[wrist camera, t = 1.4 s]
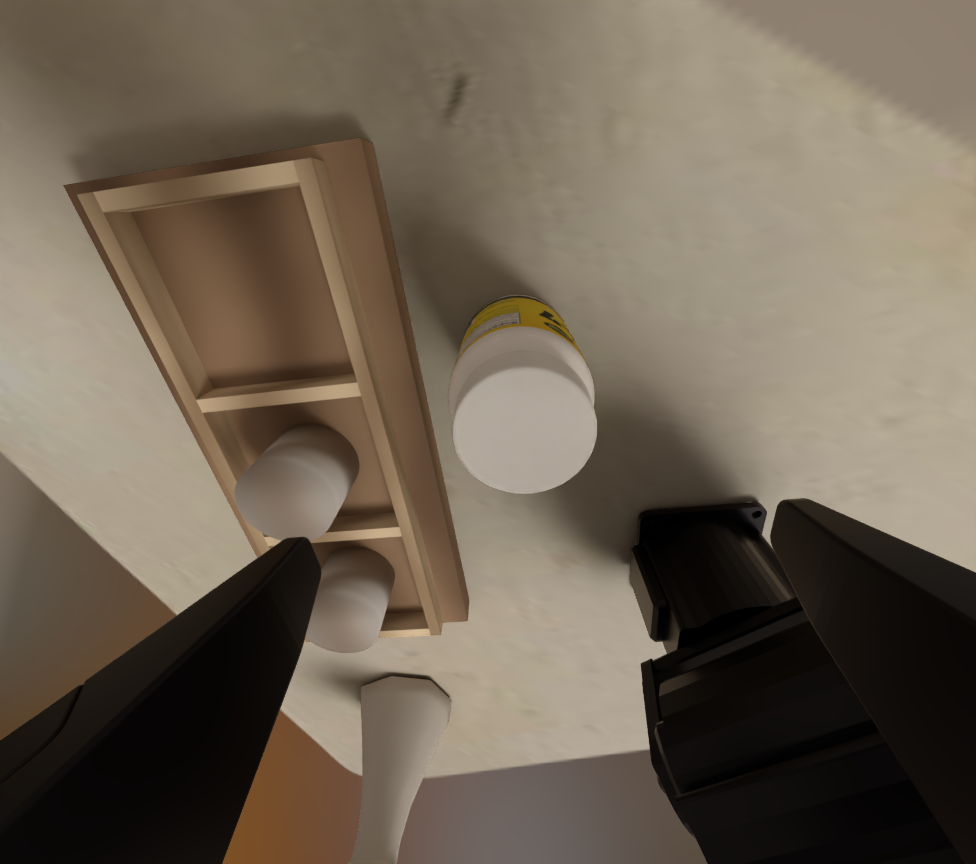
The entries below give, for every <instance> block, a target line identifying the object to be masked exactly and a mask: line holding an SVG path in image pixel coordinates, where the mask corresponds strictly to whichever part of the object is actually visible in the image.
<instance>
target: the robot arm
mask: <svg viewBox="0 0 976 864" xmlns="http://www.w3.org/2000/svg"><path fill="white" fill-rule="evenodd" d="M755 511H756V512H755ZM753 512H755V513H753ZM766 515H767V511H766V509H765V508H764V507H763V506H762V505H761V504H760V503H757V502H752V503H738V504H725V505H712V506H699V507H685V508H672V509H659V510H647V511H644V512H642V513H641V514H640V515H639V517H638V529H637V545H634V546H633V547H632V548H631V562H630V581H631V584H632V587H633V590H634V593H635V596H636V599H637V601H638V604H639V607H640V610H641V613H642V616H643V619H644V622H645V625H646V628H647V631H648V634H649V637H650V638H651V639H652V640H654V641H655V642H661V641H663V644H664V647H665V650H666V652H667V654H666V655H664V656H662V657H659V658H657V659H655V660H652V659H650V660H647V661H645V662H643V663H641V671H642V680H643V681H642V685H643V694H644V702H645V711H646V719H647V728H648V737H649V745H650V754H651V761H652V765H653V767H654V769H655V771H656V773H657V780H658V783H659V785H660V788H661V789H662V790H663V792H664V793H666V795H667V797H668V799H669V801H670V802H671V804H672V806H673V808H674V810H675V812H676V814H677V815H678V817H679V818H680V820H681V822H682V823H683V825H684V826H685V827H686V829H687V830H688V831H689V832H690V834H691V835H692V836H693V837H695V838H696V839H697V842H698V844H699V846H700V848H701V850H702V852H703V854H704V856H705V859H706V861H707V863H708V864H976V572H973V571H971V570H969V569H966V568H964V567H962V566H960V565H957V564H955V563H953V562H950V561H948V560H946V559H944V558H941V557H939V556H937V555H935V554H932V553H930V552H928V551H925V550H923V549H921V548H919V547H916V546H914V545H912V544H910V543H907V542H905V541H903V540H900V539H898V538H896V537H894V536H891V535H889V534H887V533H885V532H882V531H880V530H878V529H875V528H873V527H871V526H869V525H866V524H864V523H862V522H860V521H857V520H855V519H853V518H850V517H848V516H846V515H844V514H841V513H839V512H837V511H835V510H832V509H830V508H828V507H825V506H823V505H821V504H819V503H816V502H814V501H812V500H809V499H805V498H800V499H787V500H783V501H781V502H780V503H779V504H778V506H777V509H776V513H775V517H774V521H773V525H772V529H771V534H770V539H771V544H772V547H773V548H772V547H771V546H770V544H769V543H768V542H767V541H766V539H765V538H764V537H763V536H762V531H763V527H764V523H765V519H766ZM647 519H651V520H650V521H646V520H647ZM773 549H774V550H773ZM321 574H322V572H321V565H320V563H319V560H318V558H317V556H316V553H315V551H314V549H313V546H312V544H311V542H310V540H309V539H308V538H307V537H291V538H286V539H284V540H282V541H281V542H279V543H278V544H277V545H275V546H274V547H272V548H271V549H270V550H268V551H267V552H265V553H264V554H263V555H261V556H260V557H258V558H257V559H256V560H254V561H253V562H251V563H250V564H249V565H247V566H246V567H244V568H243V569H242V570H240V571H239V572H237V573H236V574H234V575H233V576H232V577H230V578H229V579H227V580H226V581H225V582H223V583H222V584H220V585H219V586H218V587H216V588H215V589H213V590H212V591H211V592H209V593H208V594H206V595H205V596H204V597H202V598H201V599H199V600H198V601H197V602H195V603H194V604H192V605H191V606H190V607H188V608H187V609H185V610H184V611H183V612H181V613H180V614H178V615H177V616H176V617H174V618H173V619H171V620H170V621H169V622H167V623H166V624H164V625H163V626H162V627H160V628H159V629H157V630H156V631H155V632H153V633H152V634H151V635H149V636H147V637H146V638H145V639H143V640H142V641H140V642H139V643H138V644H136V645H135V646H133V647H132V648H131V649H129V650H128V651H126V652H125V653H124V654H122V655H121V656H120V657H118V658H117V659H115V660H114V661H112V662H111V663H110V664H108V665H107V666H105V667H104V668H103V669H101V670H100V671H98V672H97V673H96V674H94V675H93V676H91V677H90V678H89V679H87V680H86V681H85V683H84V685H79V686H77V687H76V688H74V689H73V690H72V691H70V692H69V693H67V694H66V695H65V696H63V697H62V698H60V699H59V700H58V701H56V702H55V703H53V704H52V705H51V706H49V707H48V708H46V709H45V710H43V711H42V712H41V713H39V714H38V715H36V716H35V717H33V718H32V719H30V720H29V721H28V722H26V723H25V724H23V725H22V726H21V727H19V728H18V729H16V730H15V731H13V732H12V733H10V734H9V735H8V736H6V737H5V738H3V739H2V740H0V864H222V863H223V860H224V857H225V855H226V852H227V849H228V847H229V844H230V841H231V839H232V836H233V833H234V831H235V828H236V825H237V823H238V820H239V817H240V815H241V812H242V809H243V807H244V804H245V801H246V799H247V796H248V793H249V791H250V788H251V785H252V782H253V780H254V777H255V774H256V772H257V769H258V767H259V764H260V761H261V759H262V756H263V753H264V751H265V748H266V745H267V742H268V740H269V737H270V734H271V732H272V729H273V726H274V724H275V721H276V718H277V716H278V713H279V710H280V708H281V705H282V702H283V700H284V697H285V694H286V692H287V689H288V686H289V684H290V681H291V678H292V676H293V673H294V670H295V668H296V665H297V662H298V659H299V656H300V653H301V650H302V647H303V644H304V640H305V637H306V633H307V629H308V625H309V622H310V618H311V614H312V610H313V606H314V603H315V599H316V595H317V591H318V588H319V584H320V580H321Z"/></svg>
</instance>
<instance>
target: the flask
mask: <svg viewBox="0 0 976 864" xmlns="http://www.w3.org/2000/svg"><path fill="white" fill-rule="evenodd" d="M450 707H451V699H450V698H449V697H447V696H446V695H445V694H444V693H443V692H442V691H441V690H440V689H439V688H438V687H437V686H436V685H435V684H434V683H433V682H432V681H431V680H425V679H415V678H405V677H395V676H390V677H387V678H384V679H381V680H378V681H376V682H373V683H370V684H367V685H364V686H361V719H362V765H363V793H362V803H361V812H360V822H359V831H358V835H357V839H356V844H355V849H354V853H353V856H352V859H351V862H349V863H347V864H396V863H397V857H398V851H399V846H400V841H401V837H402V834H403V831H404V827H405V824H406V820H407V817H408V814H409V811H410V807H411V805H412V802H413V800H414V798H415V795H416V793H417V791H418V788H419V786H420V784H421V782H422V779H423V777H424V775H425V772H426V770H427V768H428V765H429V763H430V761H431V759H432V757H433V754H434V752H435V750H436V748H437V746H438V744H439V742H440V740H441V737H442V735H443V733H444V731H445V729H446V726H447V724H448V722H449V716H450Z"/></svg>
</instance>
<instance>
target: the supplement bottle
mask: <svg viewBox="0 0 976 864" xmlns="http://www.w3.org/2000/svg"><path fill="white" fill-rule="evenodd" d="M594 394H595V393H594V384H593V380H592V375H591V373H590V371H589V368H588V365H587V363H586V361H585V359H584V357H583V356H582V354H581V352H580V350H579V349H578V347H577V345H576V343H575V342H574V339H573V337H572V335H571V334H570V332H569V330H568V328H567V326H566V325H565V323H564V321H563V320H562V318H561V317H560V316H559V314H558V313H557V312H556V311H555V310H554V309H553V308H552V307H551V306H549V305H548V304H547V303H545V302H543V301H542V300H539V299H537V298H534V297H531V296H526V295H509V296H504V297H500V298H498V299H495V300H493V301H491V302H490V303H488V304H486V305H485V306H484V307H482V308H481V309H480V310H479V311H478V312H477V313H476V315H475V316H474V317H473V318H472V320H471V322H470V323H469V325H468V327H467V329H466V332H465V335H464V338H463V341H462V344H461V347H460V351H459V354H458V357H457V360H456V363H455V366H454V369H453V372H452V374H451V379H450V384H449V408H450V413H451V416H452V419H453V422H452V437H453V443H454V446H455V450H456V453H457V455H458V457H459V459H460V461H461V462H462V463H463V465H464V466H465V468H466V469H467V470H468V471H469V472H470V473H471V474H472V475H473V476H474V477H475V478H477V479H478V480H480V481H481V482H483V483H484V484H486V485H488V486H490V487H492V488H495V489H498V490H502V491H504V492H510V493H518V494H529V493H537V492H542V491H546V490H549V489H552V488H555V487H557V486H559V485H561V484H563V483H565V482H566V481H568V480H569V479H571V478H572V477H573V476H575V475H576V474H577V473H578V472H579V471H580V470H581V469H582V467H583V466H584V465H585V463H586V462H587V461H588V459H589V457H590V455H591V453H592V451H593V448H594V445H595V441H596V438H597V419H596V414H595V411H594Z"/></svg>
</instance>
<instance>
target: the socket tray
mask: <svg viewBox="0 0 976 864" xmlns="http://www.w3.org/2000/svg"><path fill="white" fill-rule="evenodd" d="M63 186H64V188H65V189H66V191H67V193H68V195H69V197H70V199H71V201H72V203H73V205H74V207H75V209H76V211H77V212H78V214H79V216H80V218H81V220H82V222H83V224H84V226H85V228H86V230H87V232H88V234H89V235H90V237H91V239H92V241H93V243H94V245H95V247H96V249H97V251H98V253H99V255H100V257H101V259H102V260H103V262H104V264H105V266H106V268H107V270H108V272H109V274H110V276H111V278H112V280H113V282H114V283H115V285H116V287H117V289H118V291H119V293H120V295H121V297H122V299H123V301H124V303H125V305H126V306H127V308H128V310H129V312H130V314H131V316H132V318H133V320H134V322H135V324H136V326H137V328H138V330H139V331H140V333H141V335H142V337H143V339H144V341H145V343H146V345H147V347H148V349H149V351H150V353H151V354H152V356H153V358H154V360H155V362H156V364H157V366H158V368H159V370H160V372H161V374H162V376H163V377H164V379H165V381H166V383H167V385H168V387H169V389H170V391H171V393H172V395H173V397H174V399H175V401H176V402H177V404H178V406H179V408H180V410H181V412H182V414H183V416H184V418H185V420H186V422H187V424H188V425H189V427H190V429H191V431H192V433H193V435H194V437H195V439H196V441H197V443H198V445H199V447H200V448H201V450H202V452H203V454H204V456H205V458H206V460H207V462H208V464H209V466H210V468H211V470H212V471H213V473H214V475H215V477H216V479H217V481H218V483H219V485H220V487H221V489H222V491H223V493H224V495H225V496H226V498H227V500H228V502H229V504H230V506H231V508H232V510H233V512H234V514H235V516H236V518H237V519H238V521H239V523H240V525H241V527H242V529H243V531H244V533H245V535H246V537H247V539H248V541H249V542H250V544H251V546H252V548H253V550H254V552H255V554H256V556H257V558H258V557H260V556H261V555H263V554H264V553H265V552H267V551H268V550H270V549H271V548H272V547H274V546H275V545H277V544H278V543H279V542H281V541H282V540H284V539H286V538H291V537H307V538H308V539H309V540H310V542H311V544H312V546H313V549H314V551H315V553H316V556H317V558H318V560H319V563H320V565H321V572H322V574H321V580H320V584H319V588H318V591H317V595H316V599H315V603H314V606H313V610H312V614H311V618H310V622H309V625H308V629H307V633H306V637H305V641H306V642H312V643H314V644H315V645H317V646H319V647H321V648H324V649H327V650H330V651H334V652H340V653H354V652H359V651H363V650H365V649H368V648H369V647H371V646H372V645H373V644H374V643H375V642H376V641H377V639H378V638H391V637H410V636H429V635H441V631H442V624H443V623H444V622H462V621H468V610H469V597H468V592H467V588H466V583H465V578H464V573H463V569H462V564H461V559H460V554H459V550H458V545H457V540H456V535H455V531H454V526H453V521H452V516H451V512H450V507H449V502H448V497H447V493H446V488H445V483H444V478H443V474H442V469H441V464H440V460H439V455H438V450H437V445H436V441H435V436H434V431H433V426H432V422H431V417H430V412H429V407H428V403H427V398H426V393H425V388H424V384H423V379H422V374H421V369H420V365H419V360H418V355H417V350H416V346H415V341H414V336H413V331H412V327H411V322H410V317H409V313H408V308H407V303H406V298H405V294H404V289H403V284H402V279H401V275H400V270H399V265H398V260H397V256H396V251H395V246H394V241H393V237H392V232H391V227H390V222H389V218H388V213H387V208H386V203H385V199H384V194H383V189H382V184H381V180H380V175H379V170H378V166H377V161H376V156H375V151H374V147H373V143H371V142H369V141H367V140H365V139H363V138H354V139H348V140H342V141H336V142H329V143H323V144H317V145H311V146H305V147H298V148H292V149H286V150H280V151H273V152H267V153H261V154H255V155H248V156H242V157H236V158H230V159H224V160H217V161H211V162H205V163H199V164H192V165H186V166H180V167H174V168H168V169H161V170H155V171H149V172H143V173H136V174H130V175H124V176H118V177H112V178H105V179H99V180H93V181H87V182H80V183H74V184H68V185H63Z"/></svg>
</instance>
